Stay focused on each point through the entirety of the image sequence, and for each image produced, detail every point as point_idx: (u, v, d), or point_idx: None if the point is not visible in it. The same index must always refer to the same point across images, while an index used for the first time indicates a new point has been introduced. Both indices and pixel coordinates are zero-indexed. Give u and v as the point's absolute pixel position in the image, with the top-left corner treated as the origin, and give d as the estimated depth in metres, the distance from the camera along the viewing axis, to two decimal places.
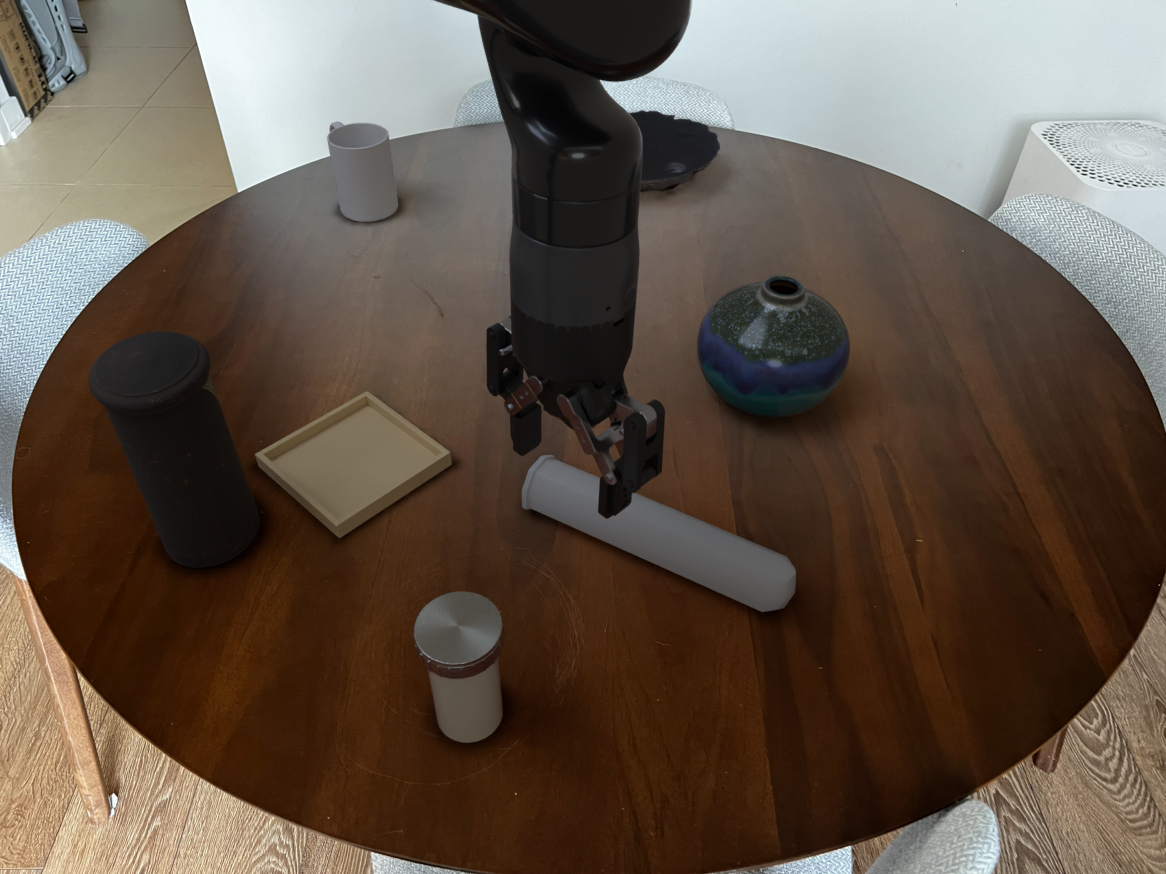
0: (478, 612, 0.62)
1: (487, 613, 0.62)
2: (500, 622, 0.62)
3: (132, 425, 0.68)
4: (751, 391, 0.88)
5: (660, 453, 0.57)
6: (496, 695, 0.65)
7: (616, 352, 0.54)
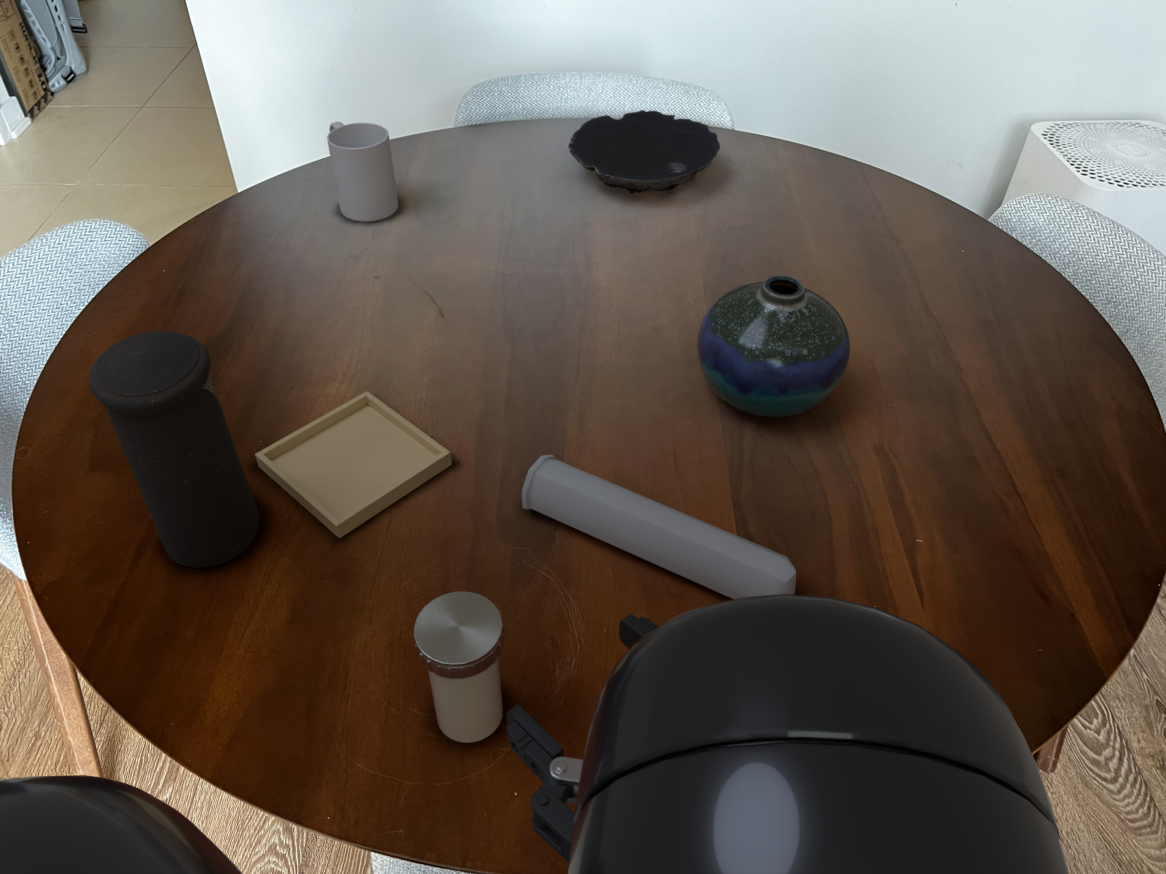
0: (478, 612, 0.62)
1: (487, 613, 0.62)
2: (500, 622, 0.62)
3: (132, 424, 0.68)
4: (751, 391, 0.88)
5: (559, 852, 0.44)
6: (496, 695, 0.65)
7: None
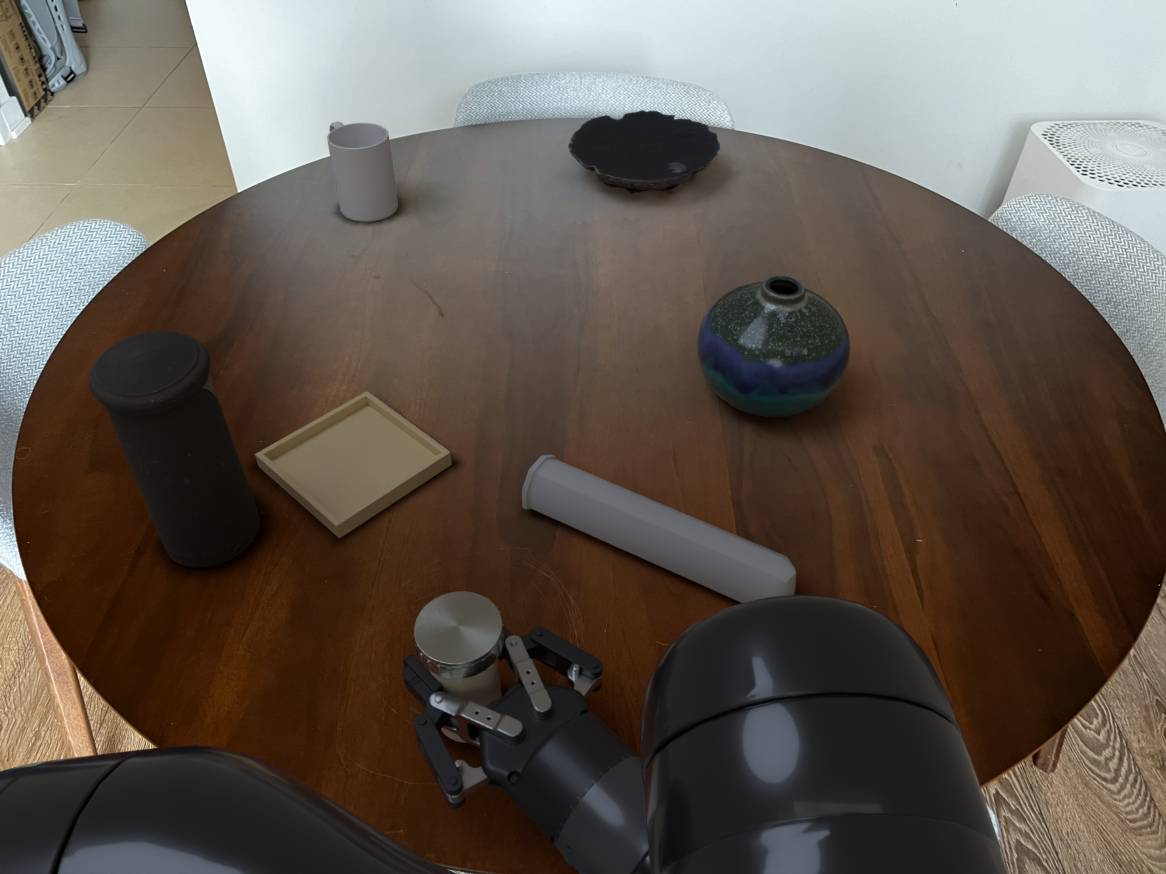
0: (478, 612, 0.62)
1: (487, 613, 0.62)
2: (500, 622, 0.62)
3: (132, 424, 0.68)
4: (751, 391, 0.88)
5: (427, 762, 0.60)
6: (496, 695, 0.65)
7: (530, 814, 0.56)
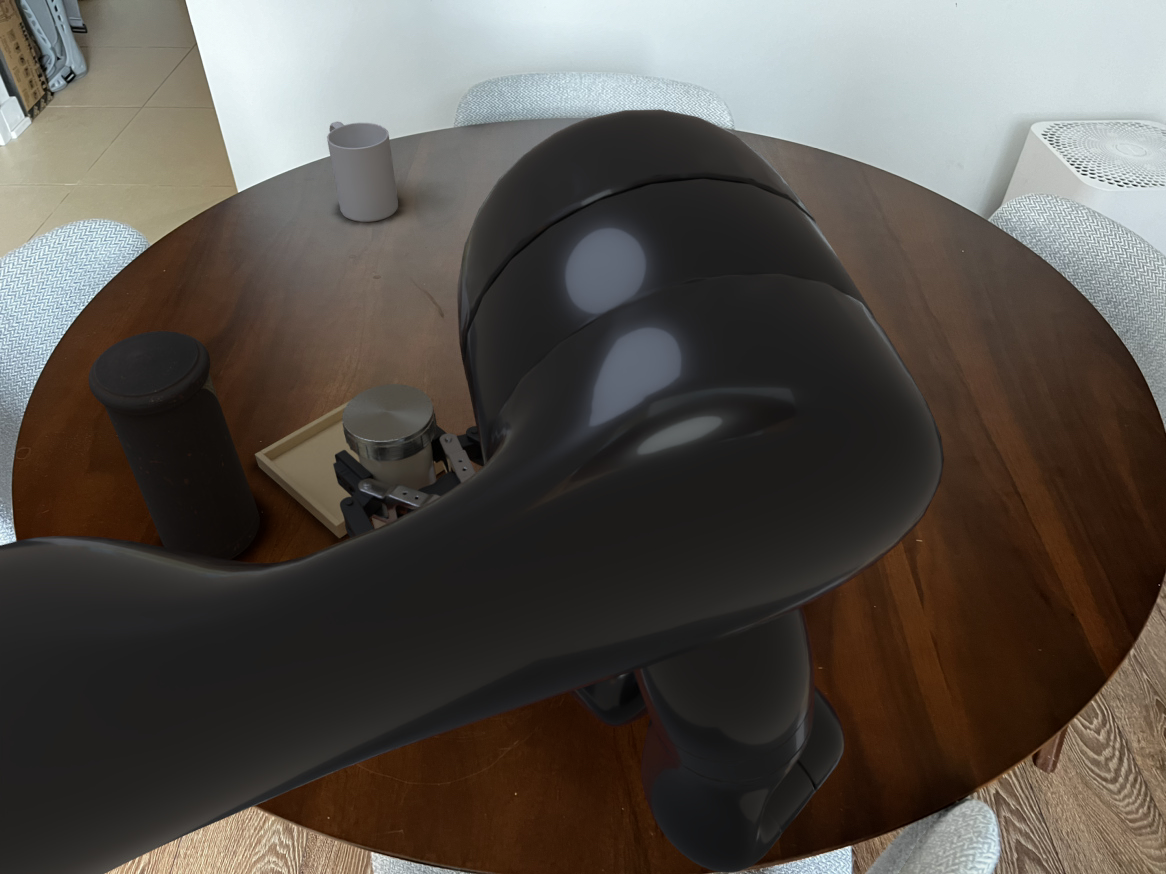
0: (409, 400, 0.61)
1: (418, 401, 0.61)
2: (431, 408, 0.60)
3: (132, 424, 0.68)
4: None
5: None
6: None
7: None
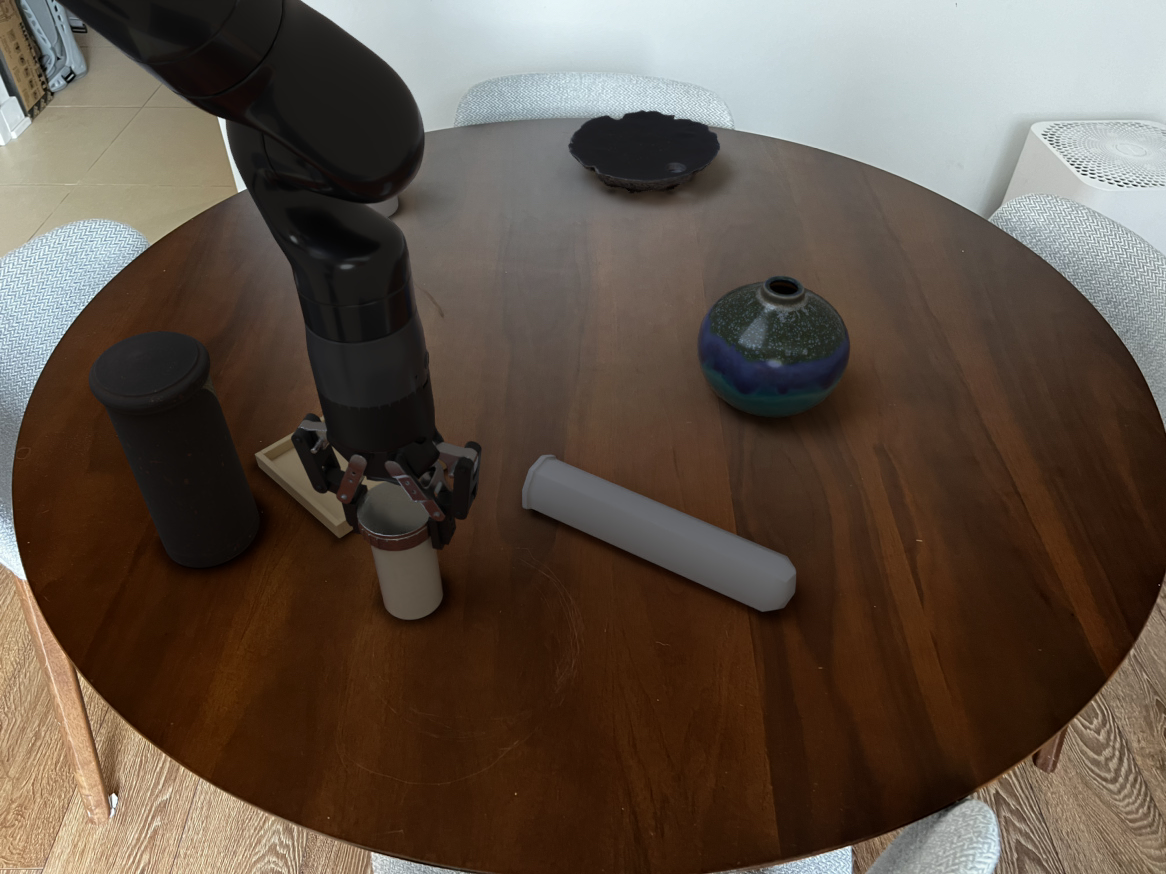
0: None
1: None
2: None
3: (132, 424, 0.68)
4: (751, 391, 0.88)
5: (477, 481, 0.67)
6: (434, 575, 0.73)
7: (428, 408, 0.62)
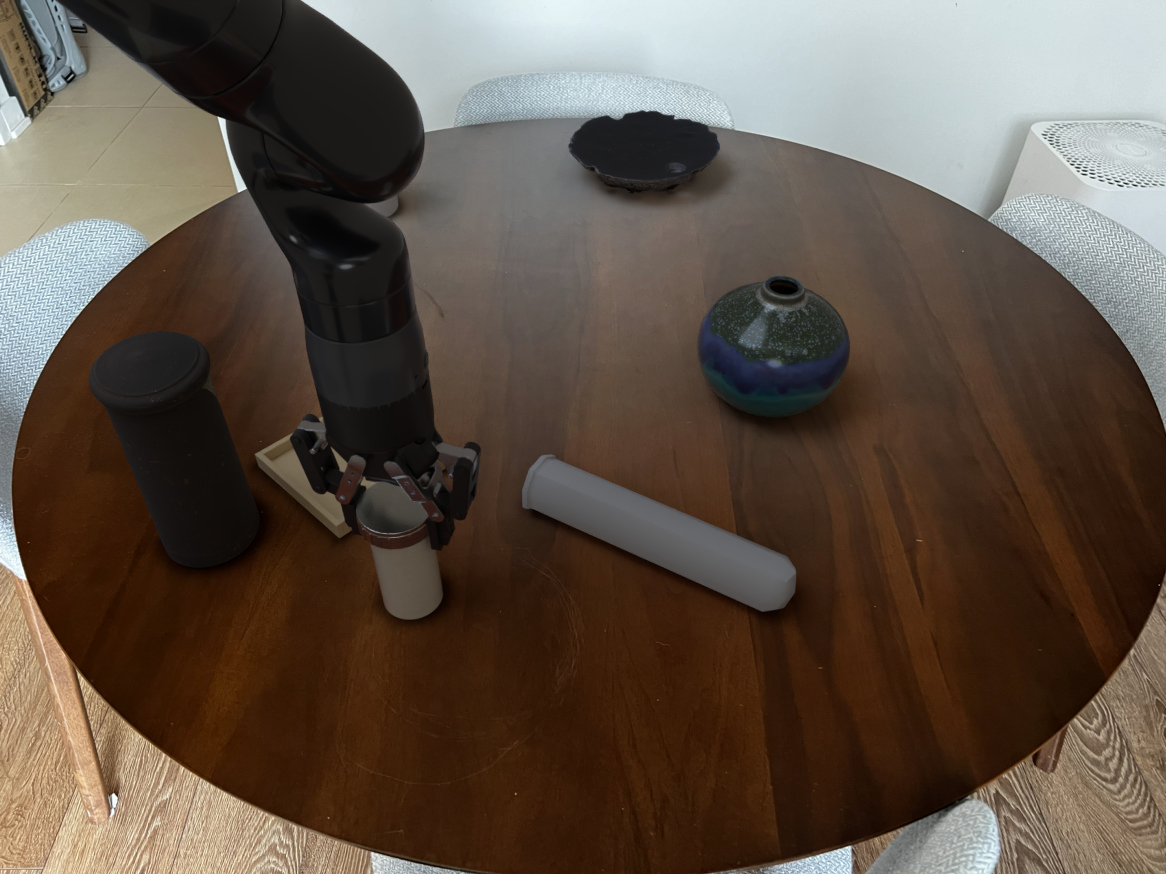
0: (392, 489, 0.70)
1: None
2: None
3: (132, 424, 0.68)
4: (751, 391, 0.88)
5: (476, 481, 0.67)
6: (433, 574, 0.73)
7: (427, 409, 0.62)
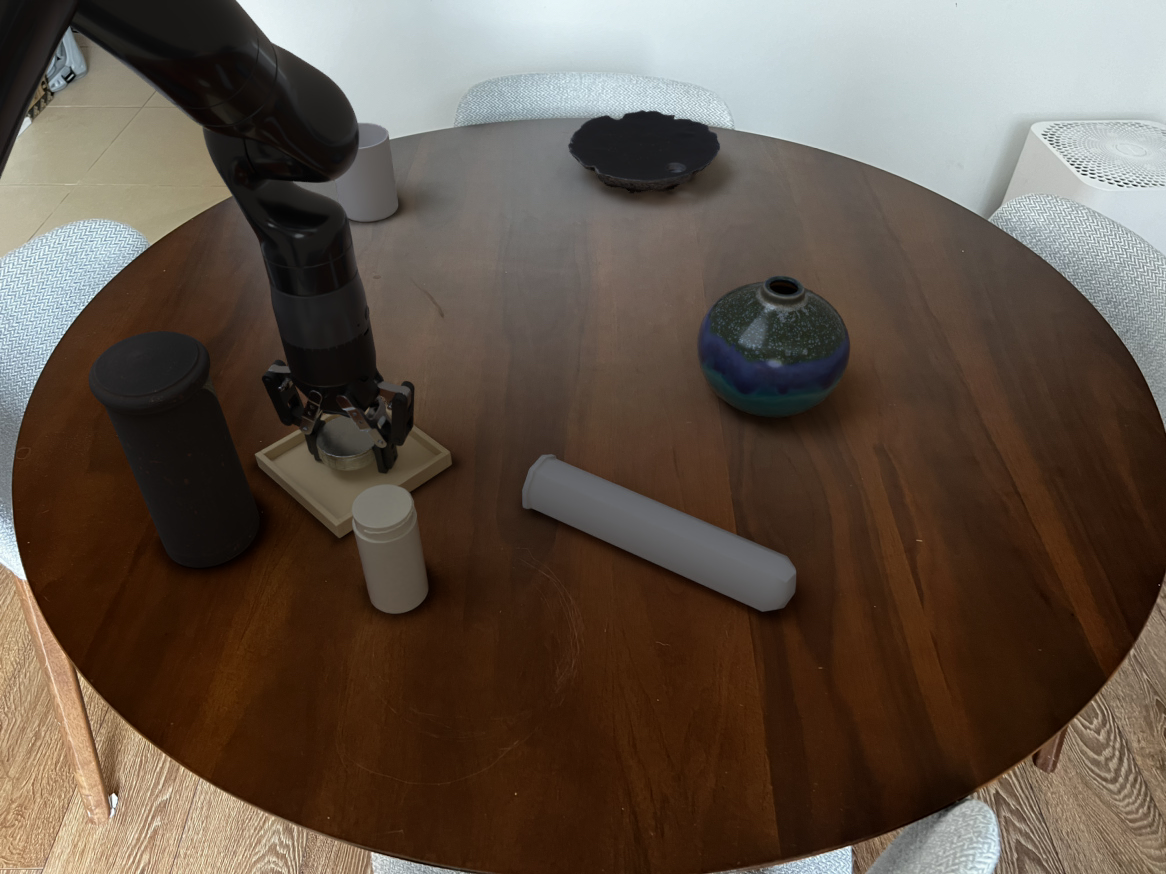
0: (346, 423, 0.87)
1: (351, 419, 0.87)
2: None
3: (132, 424, 0.68)
4: (751, 391, 0.88)
5: (412, 414, 0.83)
6: (421, 565, 0.74)
7: (369, 352, 0.78)
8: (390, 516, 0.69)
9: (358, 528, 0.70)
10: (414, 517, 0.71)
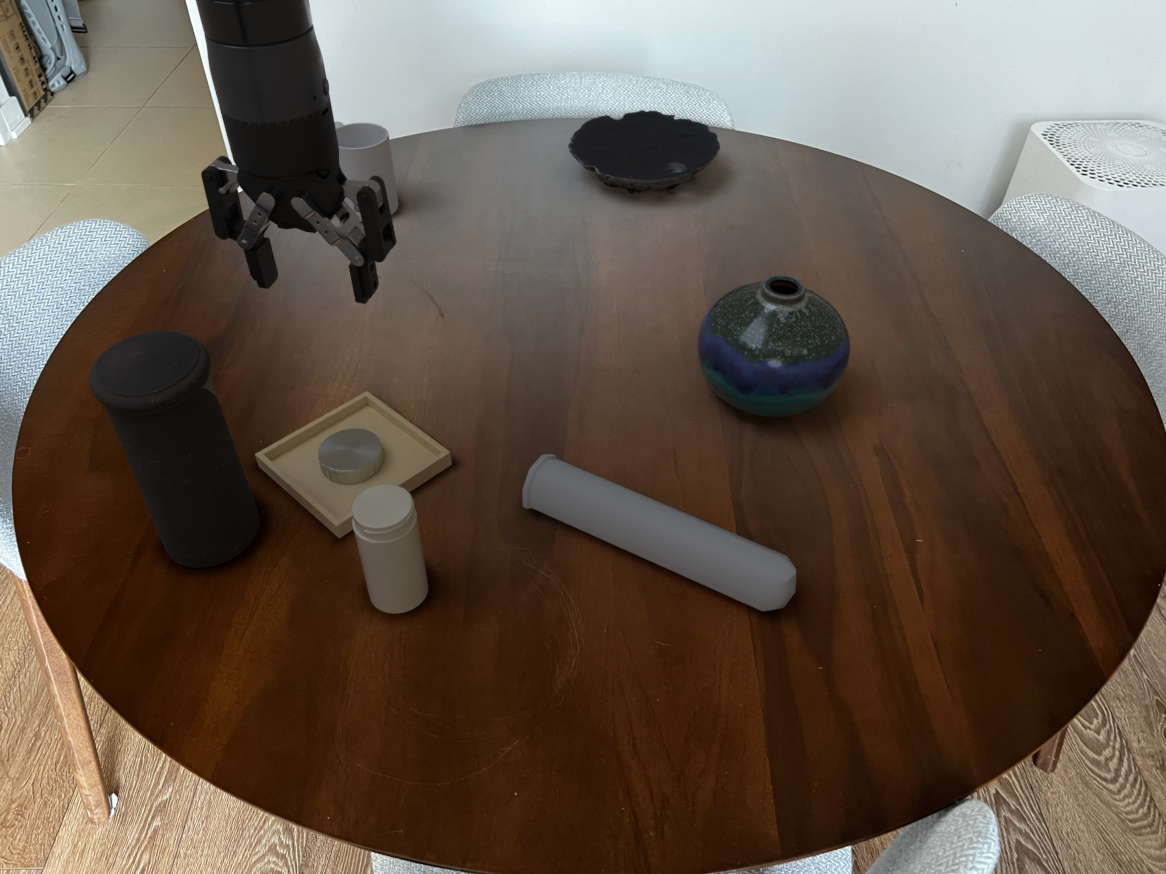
0: (348, 437, 0.88)
1: (352, 433, 0.88)
2: (364, 430, 0.89)
3: (132, 424, 0.68)
4: (751, 391, 0.88)
5: (391, 222, 0.70)
6: (421, 565, 0.74)
7: (330, 140, 0.65)
8: (390, 516, 0.69)
9: (358, 528, 0.70)
10: (414, 517, 0.71)
